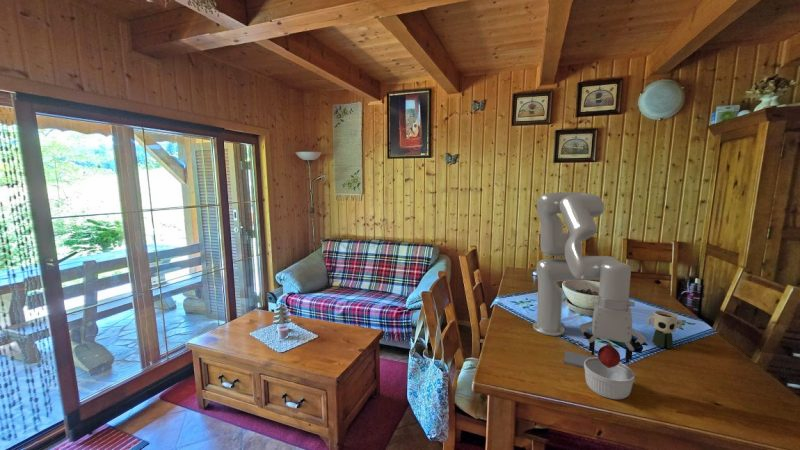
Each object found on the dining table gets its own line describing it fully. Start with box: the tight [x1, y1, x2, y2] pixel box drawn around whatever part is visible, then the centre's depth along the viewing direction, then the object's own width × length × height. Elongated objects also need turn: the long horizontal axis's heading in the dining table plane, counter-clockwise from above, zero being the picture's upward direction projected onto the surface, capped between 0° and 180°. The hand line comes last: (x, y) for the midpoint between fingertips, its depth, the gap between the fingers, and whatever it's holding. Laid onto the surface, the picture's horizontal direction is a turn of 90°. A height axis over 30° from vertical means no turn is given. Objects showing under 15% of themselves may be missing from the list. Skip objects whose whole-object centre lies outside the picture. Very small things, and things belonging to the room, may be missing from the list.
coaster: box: [563, 350, 591, 369], centre depth 117 cm, size 8×8×1 cm
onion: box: [597, 342, 621, 368], centre depth 100 cm, size 6×6×8 cm
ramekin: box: [583, 356, 636, 400], centre depth 101 cm, size 13×13×7 cm
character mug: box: [646, 309, 683, 349], centre depth 125 cm, size 11×7×13 cm, turn 67°
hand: (609, 356), depth 100 cm, fingers open, 8 cm apart
